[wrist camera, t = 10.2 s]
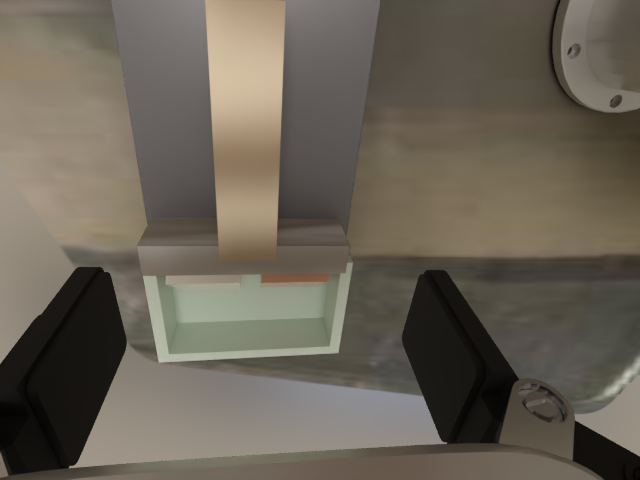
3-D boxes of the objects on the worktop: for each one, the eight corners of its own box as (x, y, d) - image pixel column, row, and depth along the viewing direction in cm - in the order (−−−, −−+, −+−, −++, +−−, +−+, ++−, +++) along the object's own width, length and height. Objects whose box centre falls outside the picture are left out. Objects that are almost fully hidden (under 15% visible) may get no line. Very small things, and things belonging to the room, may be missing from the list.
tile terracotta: (261, 252, 25) (261, 282, 24) (328, 252, 25) (329, 281, 25) (260, 261, 29) (260, 287, 29) (317, 261, 30) (317, 286, 29)
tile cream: (167, 252, 24) (165, 284, 23) (239, 252, 24) (238, 282, 24) (180, 263, 28) (179, 289, 28) (241, 262, 29) (241, 288, 28)
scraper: (116, -14, 17) (71, -24, 13) (365, 14, 19) (396, 13, 15) (156, 244, 24) (134, 292, 20) (335, 244, 26) (350, 287, 22)
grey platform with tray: (56, -409, 14) (-10, -552, 10) (416, -309, 16) (460, -398, 13) (169, 325, 32) (159, 362, 28) (330, 319, 34) (338, 352, 31)
